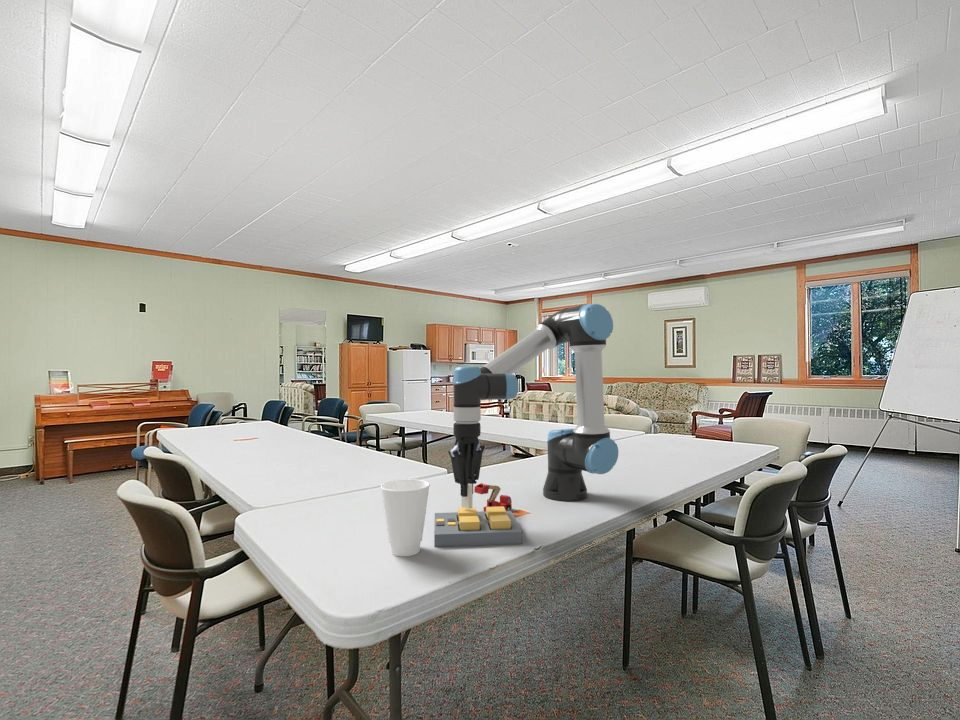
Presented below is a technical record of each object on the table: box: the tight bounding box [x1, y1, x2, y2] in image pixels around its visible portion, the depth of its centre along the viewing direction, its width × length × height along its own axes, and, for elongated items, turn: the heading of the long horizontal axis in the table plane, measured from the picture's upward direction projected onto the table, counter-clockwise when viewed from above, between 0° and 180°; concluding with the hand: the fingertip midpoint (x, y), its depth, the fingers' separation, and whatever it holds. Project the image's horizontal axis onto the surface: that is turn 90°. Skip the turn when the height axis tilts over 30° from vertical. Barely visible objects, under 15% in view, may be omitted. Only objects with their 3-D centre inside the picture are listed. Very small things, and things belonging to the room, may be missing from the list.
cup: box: [380, 478, 431, 557], centre depth 116 cm, size 12×12×16 cm
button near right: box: [459, 516, 480, 531], centre depth 125 cm, size 5×5×3 cm
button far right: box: [457, 506, 478, 519], centre depth 133 cm, size 5×5×3 cm
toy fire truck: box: [473, 482, 513, 512], centre depth 146 cm, size 3×14×10 cm, turn 134°
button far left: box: [485, 506, 507, 520], centre depth 133 cm, size 5×5×3 cm
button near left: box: [489, 515, 511, 530], centre depth 125 cm, size 5×5×3 cm
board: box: [433, 510, 523, 548], centre depth 129 cm, size 22×18×3 cm
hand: (467, 507), depth 133 cm, fingers closed
